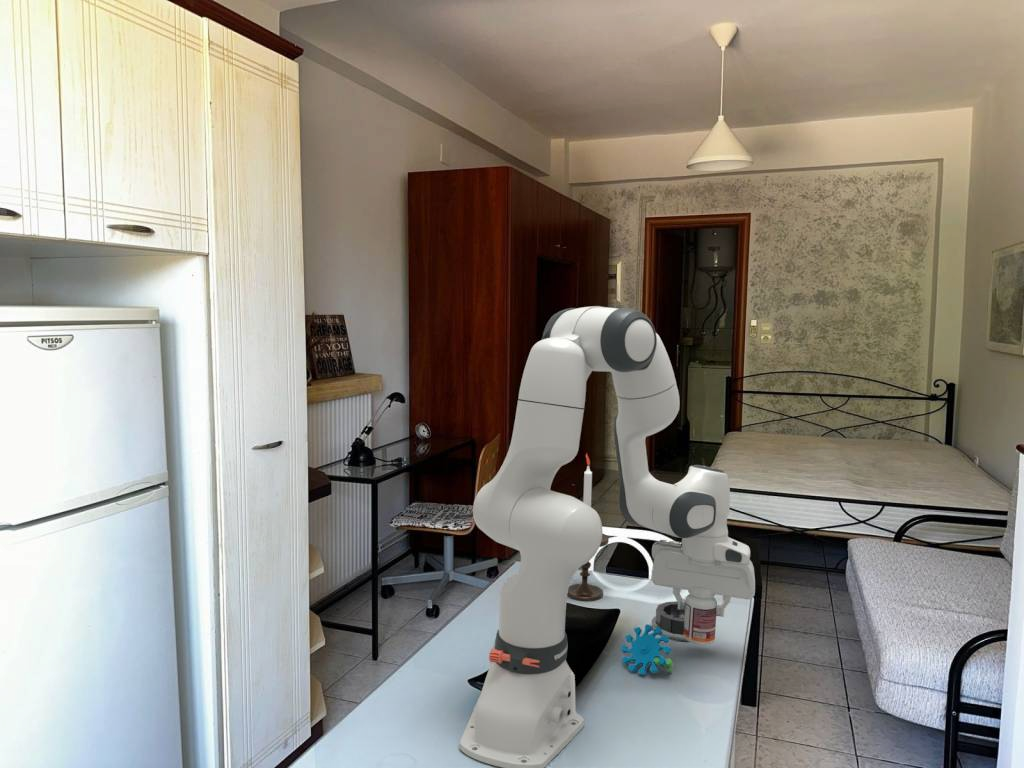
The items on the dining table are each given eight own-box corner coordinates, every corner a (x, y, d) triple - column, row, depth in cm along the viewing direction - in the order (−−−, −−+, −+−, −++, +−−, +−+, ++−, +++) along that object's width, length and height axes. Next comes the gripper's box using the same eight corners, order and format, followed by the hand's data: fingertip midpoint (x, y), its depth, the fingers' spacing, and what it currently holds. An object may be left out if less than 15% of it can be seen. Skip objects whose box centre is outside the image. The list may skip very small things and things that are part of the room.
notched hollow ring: (709, 646, 149) (710, 627, 149) (646, 635, 154) (647, 617, 153) (715, 622, 161) (715, 605, 161) (656, 613, 166) (657, 596, 165)
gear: (609, 655, 141) (639, 614, 144) (622, 668, 144) (651, 628, 147) (651, 685, 132) (682, 641, 135) (663, 699, 135) (693, 655, 138)
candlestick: (553, 591, 178) (557, 451, 175) (585, 583, 184) (590, 448, 181) (582, 606, 169) (587, 459, 166) (615, 596, 175) (620, 455, 173)
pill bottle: (720, 641, 145) (724, 586, 144) (701, 648, 142) (704, 592, 141) (696, 630, 150) (700, 577, 149) (676, 636, 147) (680, 582, 146)
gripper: (649, 542, 145) (646, 609, 146) (756, 557, 138) (752, 627, 139) (655, 534, 151) (651, 598, 152) (757, 548, 144) (753, 615, 145)
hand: (700, 612), depth 145 cm, fingers closed on pill bottle, 6 cm apart
